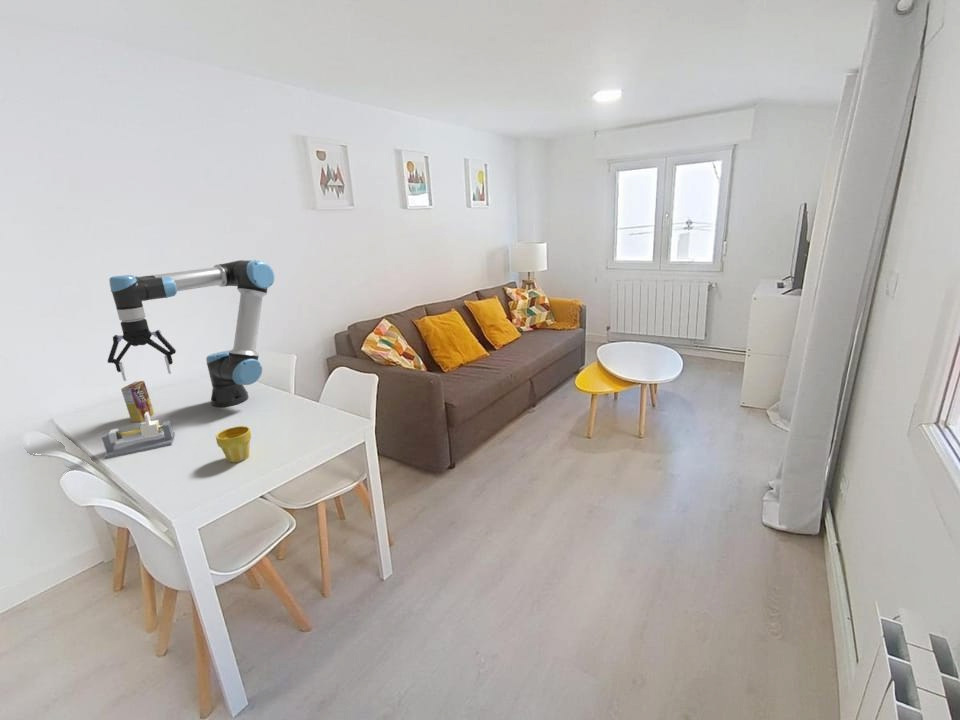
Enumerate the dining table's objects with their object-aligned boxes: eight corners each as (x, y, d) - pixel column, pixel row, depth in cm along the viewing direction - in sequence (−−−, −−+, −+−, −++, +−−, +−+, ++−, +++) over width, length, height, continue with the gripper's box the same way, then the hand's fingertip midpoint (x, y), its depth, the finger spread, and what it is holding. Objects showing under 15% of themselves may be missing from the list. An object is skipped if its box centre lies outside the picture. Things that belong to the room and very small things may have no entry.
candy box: (144, 413, 199) (135, 381, 195) (154, 413, 199) (145, 380, 195) (130, 422, 191) (120, 388, 186) (140, 421, 191) (131, 387, 186)
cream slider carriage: (160, 430, 173) (155, 410, 170) (159, 434, 169) (153, 414, 166) (145, 433, 171) (139, 412, 168) (142, 438, 167) (136, 417, 164)
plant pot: (229, 451, 162) (224, 426, 159) (259, 449, 163) (254, 424, 160) (216, 466, 152) (209, 440, 149) (248, 464, 153) (242, 438, 150)
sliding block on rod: (175, 434, 178) (170, 416, 175) (171, 444, 169) (166, 425, 167) (112, 447, 169) (106, 428, 167) (105, 458, 161) (98, 438, 158)
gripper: (175, 313, 170) (188, 367, 176) (91, 322, 159) (108, 380, 165) (173, 316, 164) (187, 372, 170) (86, 326, 152) (103, 386, 159)
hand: (148, 376), depth 168 cm, fingers open, 13 cm apart
